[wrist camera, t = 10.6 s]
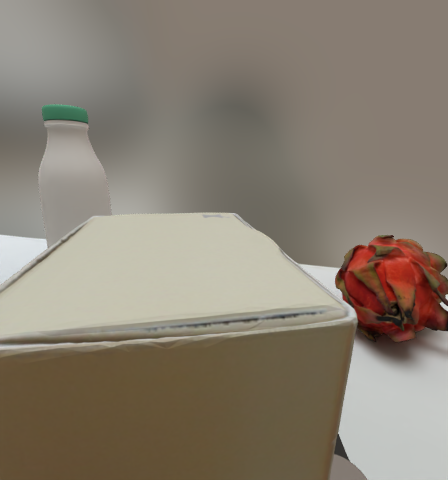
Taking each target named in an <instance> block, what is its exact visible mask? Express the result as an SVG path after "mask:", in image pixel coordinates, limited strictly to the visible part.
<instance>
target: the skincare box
mask: <svg viewBox="0 0 448 480" xmlns="http://www.w3.org/2000/svg"><path fill="white" fill-rule="evenodd" d="M357 323H358V320H357V314H356V312H355V310H354V308H352V307H351V306H350V305H349V304H348V303H346V302H345V301H344V300H342V299H341V298H339V297H338V296H337V295H335V294H334V293H333V292H332V291H330V290H329V289H328V288H327V287H325V286H324V285H323V284H322V283H321V282H320V281H318V280H317V279H316V278H314V277H313V276H312V275H311V274H309V273H308V272H307V271H306V270H304V269H303V268H302V267H301V266H300V265H299V264H298V263H296V262H295V261H293V260H292V259H291V258H290V257H288V256H287V255H286V254H285V253H284V252H283V251H282V250H281V249H280V248H279V246H278V245H277V244H276V243H275V242H274V241H273V240H272V239H270V238H269V237H267V236H266V235H265V234H263V233H261V232H259V231H257V230H255V229H254V228H253V227H251V226H250V225H249V224H248V223H247V222H245V221H244V220H243V219H242V218H241V217H239V216H238V215H237V214H235V213H178V214H127V215H112V216H93V217H91V218H90V219H88V220H87V221H85V222H84V223H82V224H81V225H79V226H77V227H76V228H75V229H73V230H72V231H71V232H69V233H67V234H66V235H65V236H64V237H62V238H61V239H59V240H58V242H56V243H55V244H53V245H52V246H50V247H49V248H48V249H46V250H45V251H44V252H43V253H41V254H40V255H38V256H37V257H36V258H35V259H33V260H32V261H31V262H30V263H28V264H27V265H26V266H24V267H23V268H22V269H21V270H20V271H18V272H17V273H15V274H14V275H13V276H11V277H10V278H9V279H8V280H6V281H5V282H4V283H3V284H1V285H0V480H329V479H330V473H331V468H332V462H333V456H334V451H335V445H336V439H337V435H338V430H339V424H340V418H341V412H342V406H343V400H344V395H345V389H346V384H347V378H348V373H349V368H350V362H351V356H352V350H353V344H354V338H355V333H356V328H357Z"/></svg>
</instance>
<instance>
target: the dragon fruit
mask: <svg viewBox="0 0 448 480" xmlns="http://www.w3.org/2000/svg"><path fill="white" fill-rule="evenodd" d="M392 237H394V236H393V235H381V236H377V237H375V238H374V239H373V240H372V241H371V242H370V243H369V245H368V246H363V245H358V246H356V247H354V248H353V249H351V250H350V251H349V252H348V253H347V254H346V255H345V256H344V258H345V261H344V263H343V265H342V267H341V269H340V270H339V271H338V273H337V275H336V278H335V285H336V288H337V289H340V290H341V292H342V296H343V300H344V301H345V302H346V303H348V304H349V305H350V306H351V307H352V308H354V310H355V312H356V314H357V320H358V323H357V324H358V326H357V327H358V329H359V330H361V331H362V333H363V334H364V335H365V336H366V337H368V338H369V339H371V340H373V341H375V342H376V340H375V337H374V336H376V335H377V336H380V335H382V334H383V333H385V334H386V335H389V337H390V338H391V339H392V340H393V341H394V342H400V341H402V342H403V341H408V340H409V339H415V338H416V336H415V335H416V334H415V332H417V331H421V330H422V329H424V328H425V327H427V328H430V329H432V330H436V331H437V330H441V331H448V311H446V310H445V309H444V308H443V307H442V306H441V305H440V303H441V302H443V303H444V304H445V305H447V306H448V300H447V299H446V298H445V297H446V296H445V295H446V294H448V279H447V278H446V277H445V276H443V275H441V274H440V273H441V272H442V271H443V270H444V269H445V268H446V267H447V263H446V261H445V260H444V259H443V258H442V257H441V256H439V255H437V254H434V253H429V252H423V249H422V247H421V245H419V243H417V242H416V241H413V240H411V239H398V240H395V239H393V238H392Z"/></svg>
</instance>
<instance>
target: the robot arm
mask: <svg viewBox="0 0 448 480" xmlns="http://www.w3.org/2000/svg"><path fill="white" fill-rule="evenodd" d="M329 480H367V478H366V477H365V476H364V474H363V473H362V472H361V471H360V470H359V469H358V468H357V467H356V466H355V465H354V464H352V463H351V462H350V460H349V459H348V456H347V454H346V452H345V449H344V447H343V444H342V442H341V439H340V437H339V434H338V435H337V439H336V445H335V451H334V456H333V462H332V468H331V473H330V479H329Z"/></svg>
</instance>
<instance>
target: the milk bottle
mask: <svg viewBox="0 0 448 480" xmlns="http://www.w3.org/2000/svg"><path fill="white" fill-rule="evenodd" d="M42 115H43V119H44V121H45V122H44V123H45V125H44V126H45V127H46V128H47V131H48V140H47V146H46V150H45V153H44V157H43V160H42V162H41V165H40V169H39V176H38V185H39V194H40V201H41V208H42V215H43V221H44V228H45V234H46V240H47V246H48V248H49V247H50V246H52V245H53V244H55V243H56V242H58V240H59V239H61V238H62V237H64V236H65V235H66V234H67V233H69V232H71V231H72V230H73V229H75V228H76V227H77V226H79V225H81V224H82V223H84V222H85V221H87V220H88V219H90V218H91V217H93V216H112V213H111V204H110V196H109V190H108V183H107V178H106V175H105V172H104V170H103V168H102V165H101V164H100V162H99V160H98V158H97V157H96V155H95V153H94V151H93V149H92V147H91V144H90V142H89V139H88V135H87V130H88V129H89V127H88V115H87V112H86V110H85V109H82V108H79V107H75V106H68V105H46V106H43V107H42Z"/></svg>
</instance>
